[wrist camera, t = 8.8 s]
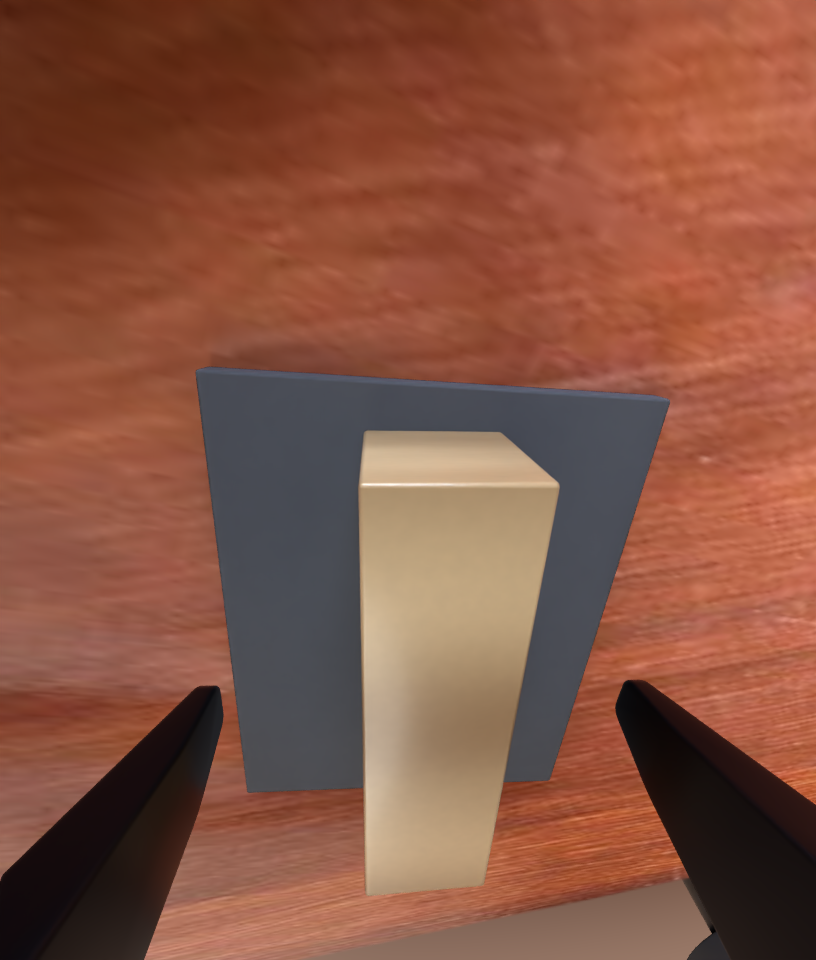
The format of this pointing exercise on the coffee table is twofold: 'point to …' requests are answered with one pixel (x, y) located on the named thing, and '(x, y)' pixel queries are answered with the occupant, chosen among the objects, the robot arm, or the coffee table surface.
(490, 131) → the coffee table surface
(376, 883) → the maple bar
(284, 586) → the grey mat
